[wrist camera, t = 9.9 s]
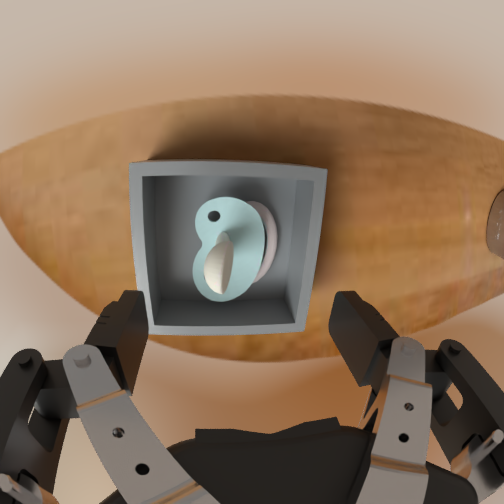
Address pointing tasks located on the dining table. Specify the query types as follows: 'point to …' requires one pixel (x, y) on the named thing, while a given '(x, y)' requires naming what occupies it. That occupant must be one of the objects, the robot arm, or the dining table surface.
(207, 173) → the bin
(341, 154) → the dining table surface
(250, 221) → the pacifier
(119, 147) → the dining table surface
